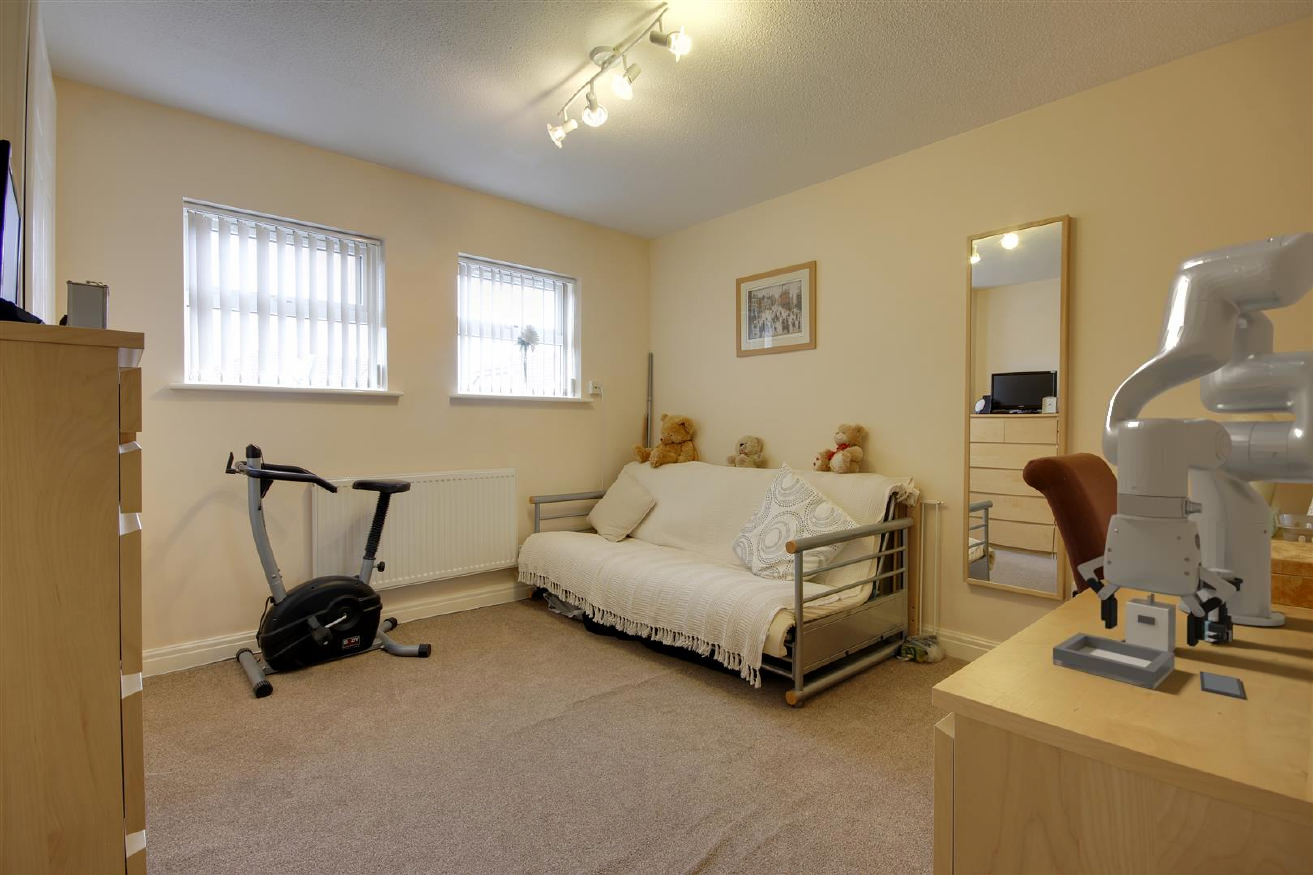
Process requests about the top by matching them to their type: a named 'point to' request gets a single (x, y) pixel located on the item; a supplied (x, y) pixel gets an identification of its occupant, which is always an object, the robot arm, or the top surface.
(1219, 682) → the phone
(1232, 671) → the top surface
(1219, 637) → the push button
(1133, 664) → the dock
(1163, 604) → the charger
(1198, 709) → the top surface
